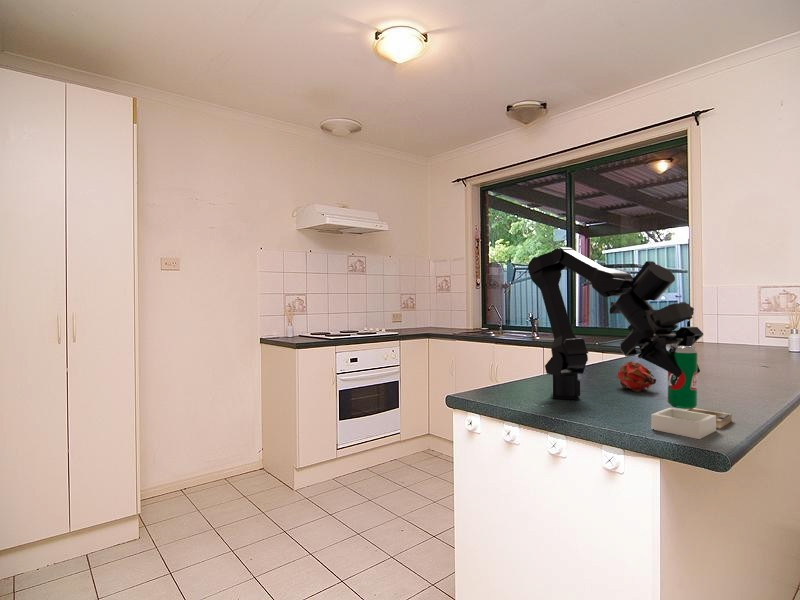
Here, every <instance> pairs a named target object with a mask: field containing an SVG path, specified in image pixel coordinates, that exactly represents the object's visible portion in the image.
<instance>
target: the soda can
mask: <svg viewBox="0 0 800 600" xmlns="http://www.w3.org/2000/svg"><path fill="white" fill-rule="evenodd" d="M667 351H668V352H669V354H670V355H671V356H672V358H673V359H674V361H675V362H676V364H677V365H678V367H679V368H680V370H681V372H682V374H681V375H680V376H676V375H674V374H672V373H670V372H668V371H667V403H668V405H669V406H670V407H671V408H675V409H681V410H683V409H693V408H696V407H697V406H698V374H697V364H698V352H697V350H696V347H695V346H693V345H692V346H670V349H669V348H668V350H667Z"/></svg>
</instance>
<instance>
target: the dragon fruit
mask: <svg viewBox="0 0 800 600" xmlns="http://www.w3.org/2000/svg"><path fill="white" fill-rule="evenodd" d="M616 378H617V379H619V383H620V385H621V387H622V388H623V389H624V388H629V389H630V390H632V391H633V392H637V393H638V392H640V393H641V392H642V391H643V390H645V389H648V390H650V389H649V388H650V387H652V385H655V384H656V382H657V378H655V376H654V375H653V374H652V371H650V369H648V368H647V367H645V366H644V365H643V364H642V363H640V362H633V361H627V362H626V363H624V364H623V365H622V366H621V367H620V368H619V371H618V372H617V375H616ZM641 389H642V390H641Z"/></svg>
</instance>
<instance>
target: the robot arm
mask: <svg viewBox="0 0 800 600" xmlns="http://www.w3.org/2000/svg"><path fill="white" fill-rule="evenodd" d="M566 268H567V269H569V270H570V271H572V272H574V273H575V274H577V275H579V276H581V277H582V278H584V279H585V280H587V281H588V282H589V283H590V285H591V287H592V288H593V290H594V291H596V292H597V293H598V294H599V295H600V296H601V297H603V298H617V299H616V300H615V301H611V302H610V308H609V314H615V315H616V314H617V315H618V314H621V315H622V316H623V318H624V319H625V320H626V321H627V323H628V324H629V325H628V326H627V329H628V331H629V334H628V335H626V337H625V338H624V339H622V340H621V342H620V344H619V346H620V348H619V349H620V351H621V353H622V354H623V355H624V357H635V356H637V350H636V347H638V348H639V352H640V353H639V354H638V356H637V358H639V359H642V360H644V361H647V362H648V363H651V364H653V365H655V366H657V367H659V368H660V369H662V370H664V371H667V373H668V372H670V373H672V374H674V375H676V376H680V375H681V374H682V372H681V370H680V368H679V367H678V365H677V364H676V362H675V361H674V359H673V358H672V356H671V355H670V354H669V352H668V351H669V349H670V346H692V347H693V345H694V344H695V343H697V342H698V341H699V340H700V338H702V337H703V336H704V333H703V332H702V331H701V329H700V328H699V327H698V326H681V327H680V328H679V329H678V327H679V326H678V325H677V324H679V323H682V322H684V321H687V320H691V319H693V318H694V317H693V315H694V311H695V308H694V307H693V306H691V305H690V303H687V302H686V301H679V303H670V304H669V305H666V306H664V307H662V308H659V309H654V308H653V306H652V305H651V304H650V303H649V302H648V301H657V300H659V298H660V297H661V296H662V295H663V294H664V293H665V292H666V291H667V290H668V288H669V287H670V286H671V285H672V284H673V283H674V282H675V281H676V277H675V275H674V274H673V272H672V271H671V270H669V269H667V268H665V267H664V266H661V265H659V264H657V263H656V262H655V261H652V260H651V261H649V260H647V261H645V262H644V264H643V265H642V266H641V268H640V269H639V271H638V272H637V273H636V274H635V276H634V277H633V275H631V274H630V273H629V272H626V271H623V270H619V269H615V268H609V267H604V266H603V265H601V264H599V263H597V262H595V261H594V260H592V259H590V258H588V257H586V256H585V255H582V254H581V253H579V252H577V251H576V250H575V249H573V247H557V248H555V249H553V250H551V251H549V252H546V253H543V254H540V255H538V256H534V257H532V258H531V259H530V261H529V262H528V264H527V272H528V273H529V277H530V279H531V281H532V282H533V284H534V285H535V286H536V287H537V288H539V290H540V291H541V293H540V294H541V296H542V300H543V303H544V307H545V310H546V314H547V317H548V322H549V324H550V327H551V331H552V335H553V342H552V346H551V349H550V350H551V357H550V358H549V360H548V361H547V363H546V364H545V365H544V368H545V371H546V374H547V375H550V376H551V381H552V382H551V384H552V387H551V388H552V392H551V397H552V399H559V400H577V401H578V400H580V396H581V380H580V379H579V378H578V377H579V375H583V374H584V372H585V369H586V365H587V362H588V360H589V357H588V354H590V353H589V351H588V349H587V347H586V346H587V345H586V342H585V339H584V338H581V337H579V338H578V337H576V335H575V334H574V332H573V329H572V325H571V321H570V317H569V314H568V312H567V308H566V305H565V302H564V299H563V296H562V295H563V294H562V292H561V289H560V282H561V278H562V271H563V270H565V269H566ZM676 329H678V330H676ZM675 330H676V331H675ZM672 331H675V332H674V333H672ZM667 348H668V350H667ZM699 373H701V369H700V366H699V365H698V363H697V375H698V374H699Z"/></svg>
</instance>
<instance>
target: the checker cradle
mask: <svg viewBox="0 0 800 600" xmlns="http://www.w3.org/2000/svg"><path fill="white" fill-rule="evenodd" d="M682 410H687V411H693V412H698V413H704V414H710V415H716V429H722V428H723V427H725V426H727V425H729V423H731V422H732V420H733V419H732V413H728V412H720V411H715V410H708V409H702V408H696V407H695V408H693V409H682Z"/></svg>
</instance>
